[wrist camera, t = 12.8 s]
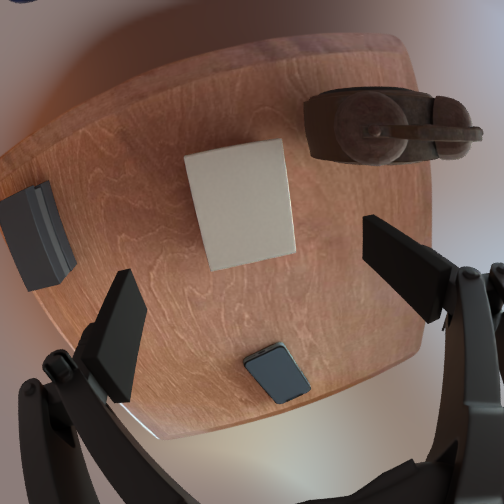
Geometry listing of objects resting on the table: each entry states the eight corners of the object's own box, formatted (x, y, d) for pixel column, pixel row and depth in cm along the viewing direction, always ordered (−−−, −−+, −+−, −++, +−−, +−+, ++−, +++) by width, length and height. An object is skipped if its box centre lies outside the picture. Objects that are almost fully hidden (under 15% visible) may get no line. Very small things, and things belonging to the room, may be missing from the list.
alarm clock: (381, 93, 30) (505, 91, 12) (387, 144, 33) (508, 175, 15) (278, 97, 29) (372, 64, 11) (287, 156, 32) (385, 194, 14)
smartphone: (283, 344, 43) (313, 390, 49) (281, 337, 44) (310, 384, 50) (241, 364, 43) (277, 406, 49) (239, 357, 45) (275, 400, 51)
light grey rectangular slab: (184, 155, 28) (183, 156, 26) (278, 138, 28) (281, 138, 27) (210, 265, 33) (210, 271, 32) (292, 247, 34) (296, 252, 33)
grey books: (18, 192, 27) (-7, 205, 22) (49, 178, 28) (25, 188, 23) (46, 272, 33) (28, 293, 27) (77, 263, 33) (60, 285, 28)
